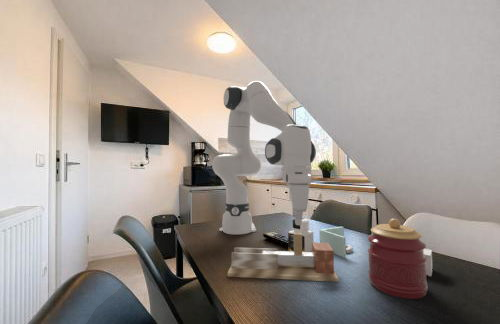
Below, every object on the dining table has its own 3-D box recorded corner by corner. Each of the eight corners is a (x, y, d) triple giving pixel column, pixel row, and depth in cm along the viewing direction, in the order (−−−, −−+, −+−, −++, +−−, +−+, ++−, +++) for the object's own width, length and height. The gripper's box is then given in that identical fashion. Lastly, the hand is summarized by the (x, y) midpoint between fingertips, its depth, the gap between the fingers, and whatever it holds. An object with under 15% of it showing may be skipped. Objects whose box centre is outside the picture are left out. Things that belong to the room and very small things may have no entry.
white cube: (431, 276, 65) (430, 255, 65) (406, 271, 69) (405, 250, 69) (432, 269, 70) (431, 249, 70) (408, 264, 73) (408, 245, 74)
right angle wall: (344, 259, 79) (343, 237, 80) (319, 248, 90) (319, 229, 90) (367, 253, 84) (367, 233, 85) (341, 244, 95) (341, 226, 96)
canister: (360, 274, 66) (358, 214, 67) (405, 275, 66) (403, 214, 67) (385, 300, 53) (383, 224, 54) (441, 300, 53) (438, 224, 54)
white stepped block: (262, 264, 69) (261, 234, 70) (262, 260, 72) (262, 231, 73) (322, 267, 67) (322, 235, 68) (320, 262, 70) (320, 233, 71)
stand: (227, 276, 66) (227, 250, 66) (235, 260, 78) (234, 238, 78) (338, 281, 62) (337, 254, 63) (328, 263, 74) (327, 240, 75)
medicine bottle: (287, 250, 87) (287, 219, 87) (297, 246, 92) (297, 216, 93) (304, 255, 82) (304, 221, 82) (314, 250, 87) (313, 218, 88)
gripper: (285, 174, 81) (285, 213, 81) (288, 177, 61) (288, 229, 61) (303, 174, 81) (303, 213, 80) (312, 177, 60) (312, 230, 60)
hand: (296, 220), depth 70 cm, fingers open, 8 cm apart
